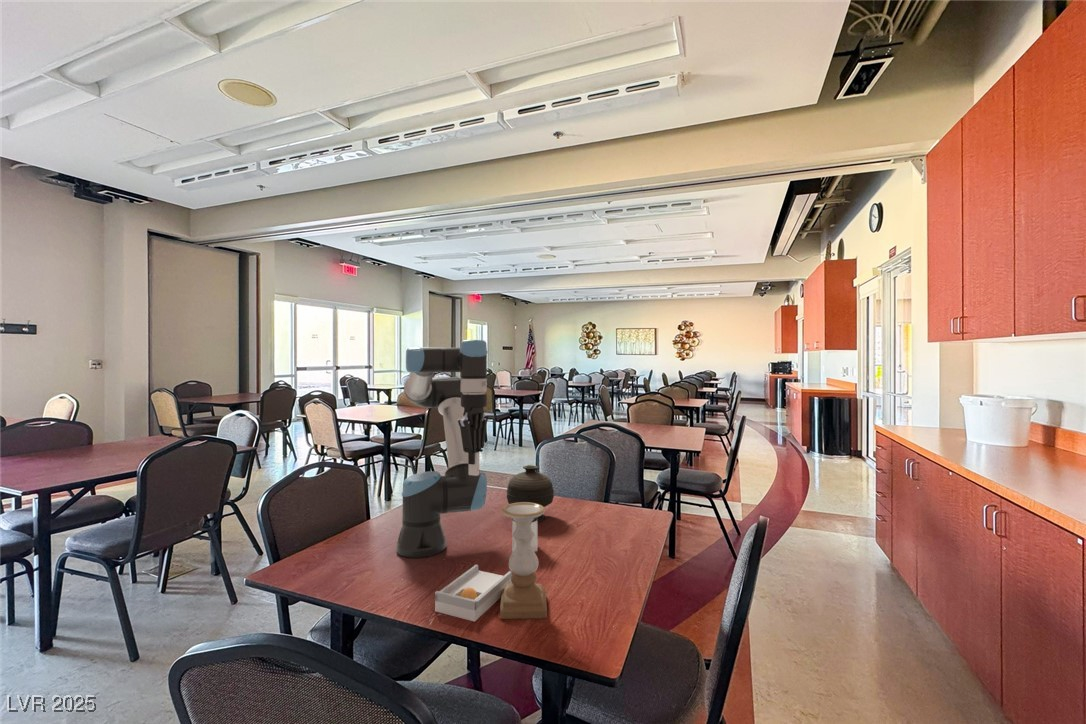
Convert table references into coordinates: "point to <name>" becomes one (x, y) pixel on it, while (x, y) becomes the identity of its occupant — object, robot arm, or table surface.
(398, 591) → the table surface
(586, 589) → the table surface
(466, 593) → the ball
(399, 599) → the table surface
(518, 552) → the candle holder
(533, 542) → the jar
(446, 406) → the robot arm
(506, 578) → the tray
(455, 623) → the table surface
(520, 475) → the pot
